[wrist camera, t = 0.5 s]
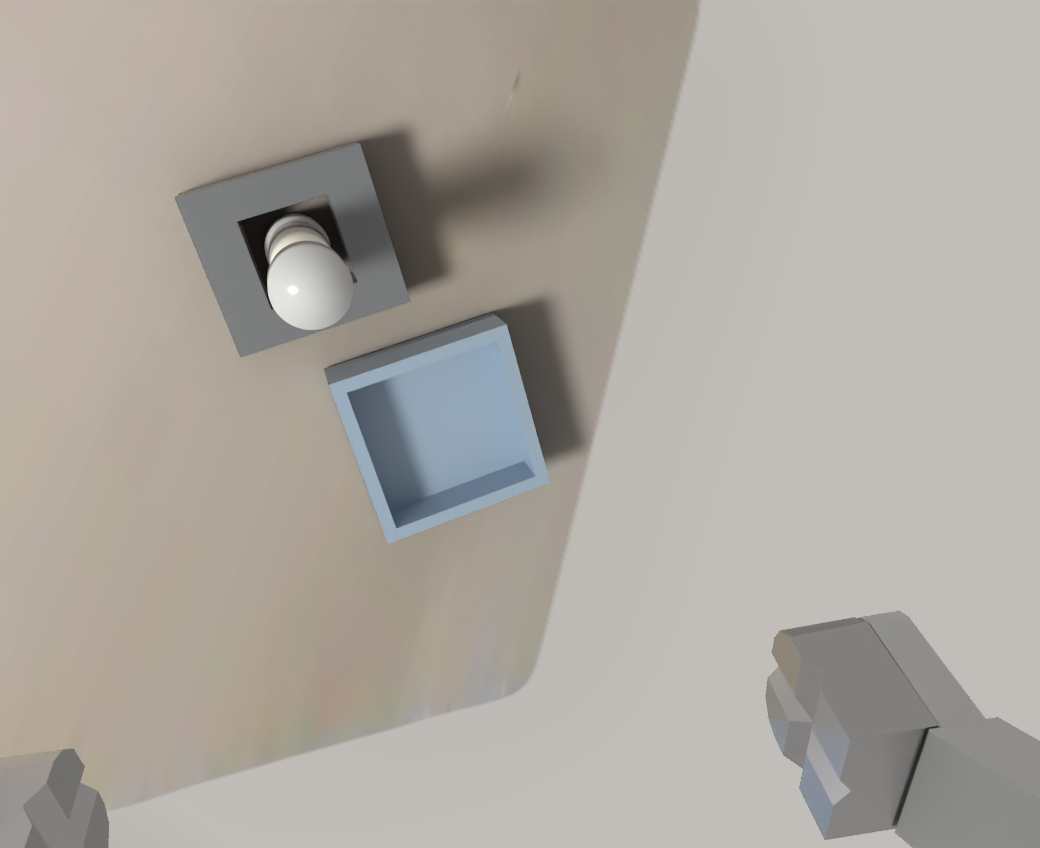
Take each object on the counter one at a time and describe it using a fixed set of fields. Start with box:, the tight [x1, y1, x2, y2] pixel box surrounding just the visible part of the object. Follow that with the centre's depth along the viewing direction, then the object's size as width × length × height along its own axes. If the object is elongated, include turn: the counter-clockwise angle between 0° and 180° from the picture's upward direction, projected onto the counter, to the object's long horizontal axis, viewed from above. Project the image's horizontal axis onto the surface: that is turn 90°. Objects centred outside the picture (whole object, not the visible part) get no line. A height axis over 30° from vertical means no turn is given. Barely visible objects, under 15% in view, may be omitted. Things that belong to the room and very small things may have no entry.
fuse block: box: [175, 142, 411, 357], centre depth 48 cm, size 9×10×3 cm
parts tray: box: [324, 312, 550, 544], centre depth 54 cm, size 11×11×4 cm
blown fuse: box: [264, 213, 353, 330], centre depth 43 cm, size 4×4×14 cm
